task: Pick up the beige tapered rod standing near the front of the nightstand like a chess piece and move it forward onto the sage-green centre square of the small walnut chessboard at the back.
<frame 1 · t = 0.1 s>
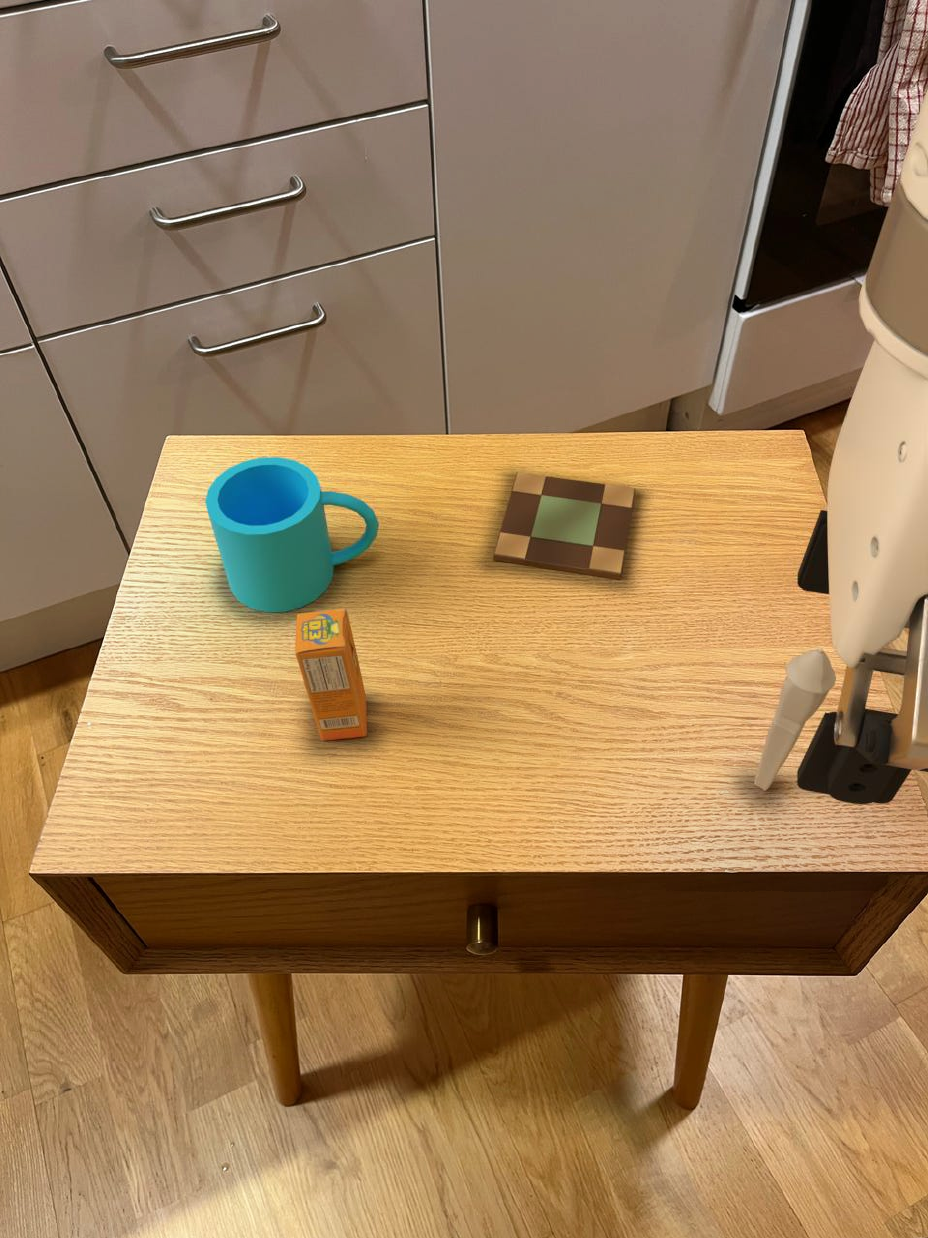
hand: (837, 681, 37), 24 cm above the table, tool pointing down, fingers open, 9 cm apart
mug: (306, 571, 75), on the table
board: (566, 525, 77), on the table
beige tapered rod: (761, 786, 62), on the table
supplement box: (342, 723, 66), on the table
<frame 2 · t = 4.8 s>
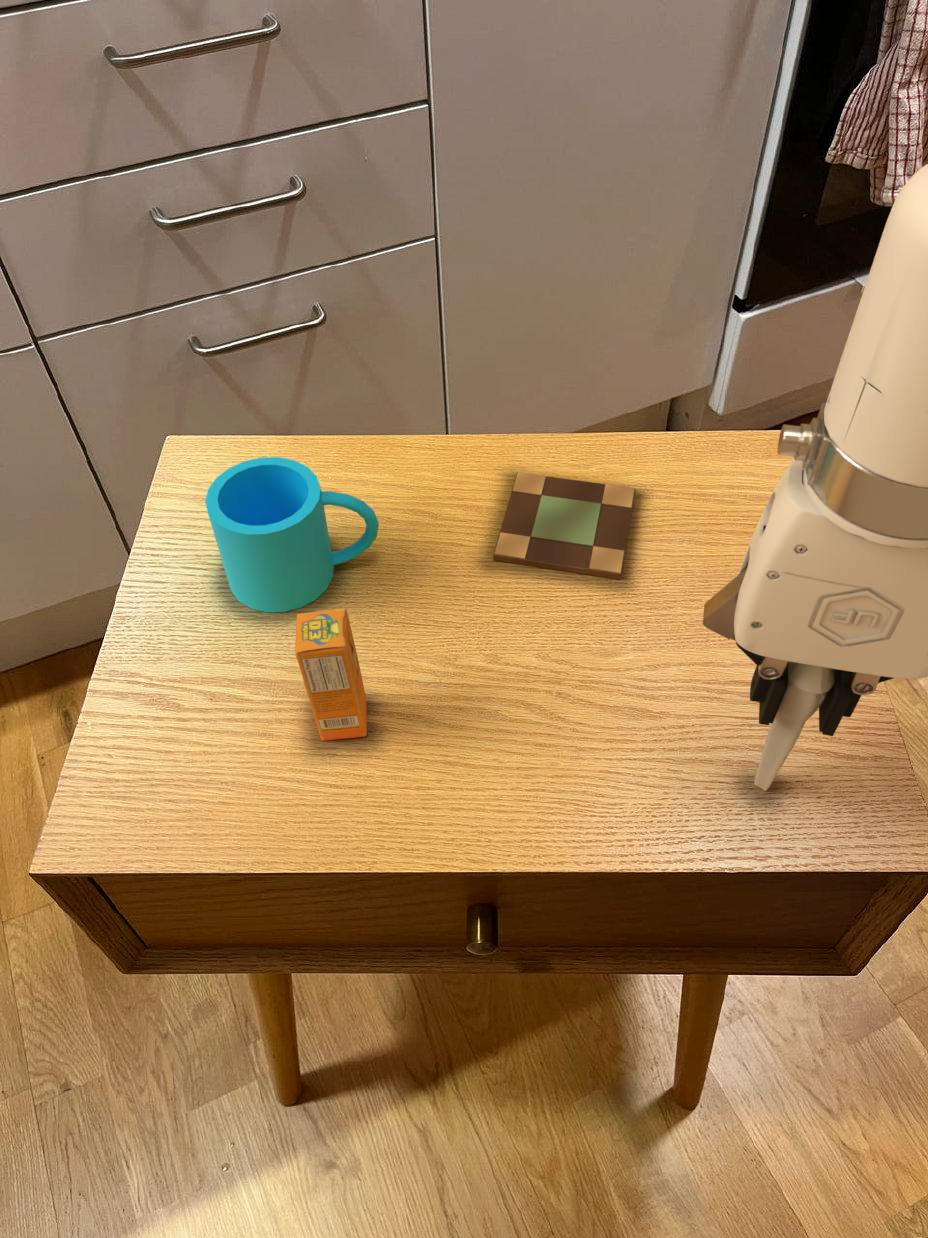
hand: (795, 708, 55), 9 cm above the table, tool pointing down, fingers closed on beige tapered rod, 2 cm apart
beige tapered rod: (761, 786, 62), on the table, touching gripper
everything else where it was.
when the fingers open (9 cm above the table, at t = 12.8 s): beige tapered rod stays where it is, resting on board.
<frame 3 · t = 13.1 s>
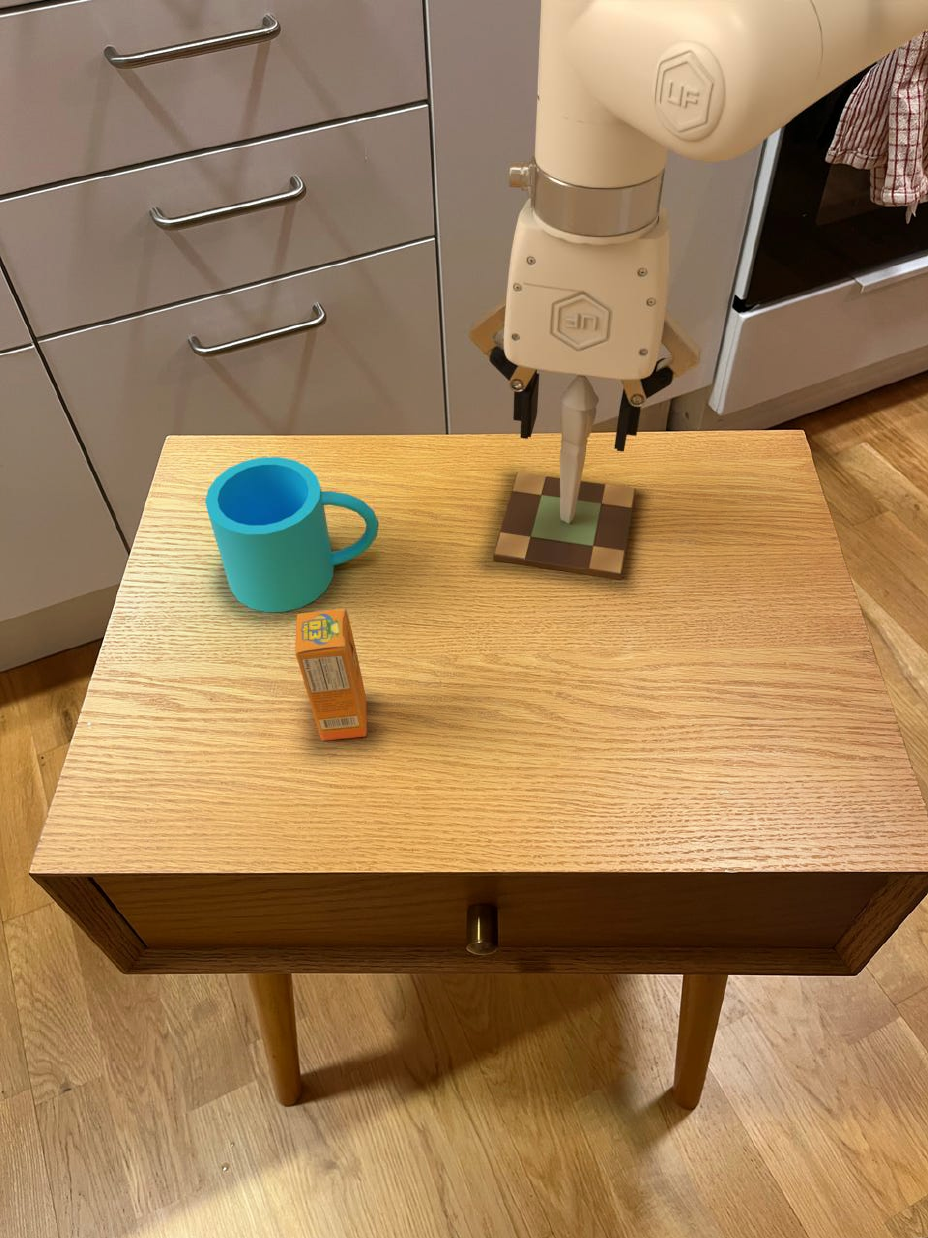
hand: (574, 431, 70), 10 cm above the table, tool pointing down, fingers open, 6 cm apart
beige tapered rod: (567, 522, 77), point 1 cm above the table, touching board
everything else where it was.
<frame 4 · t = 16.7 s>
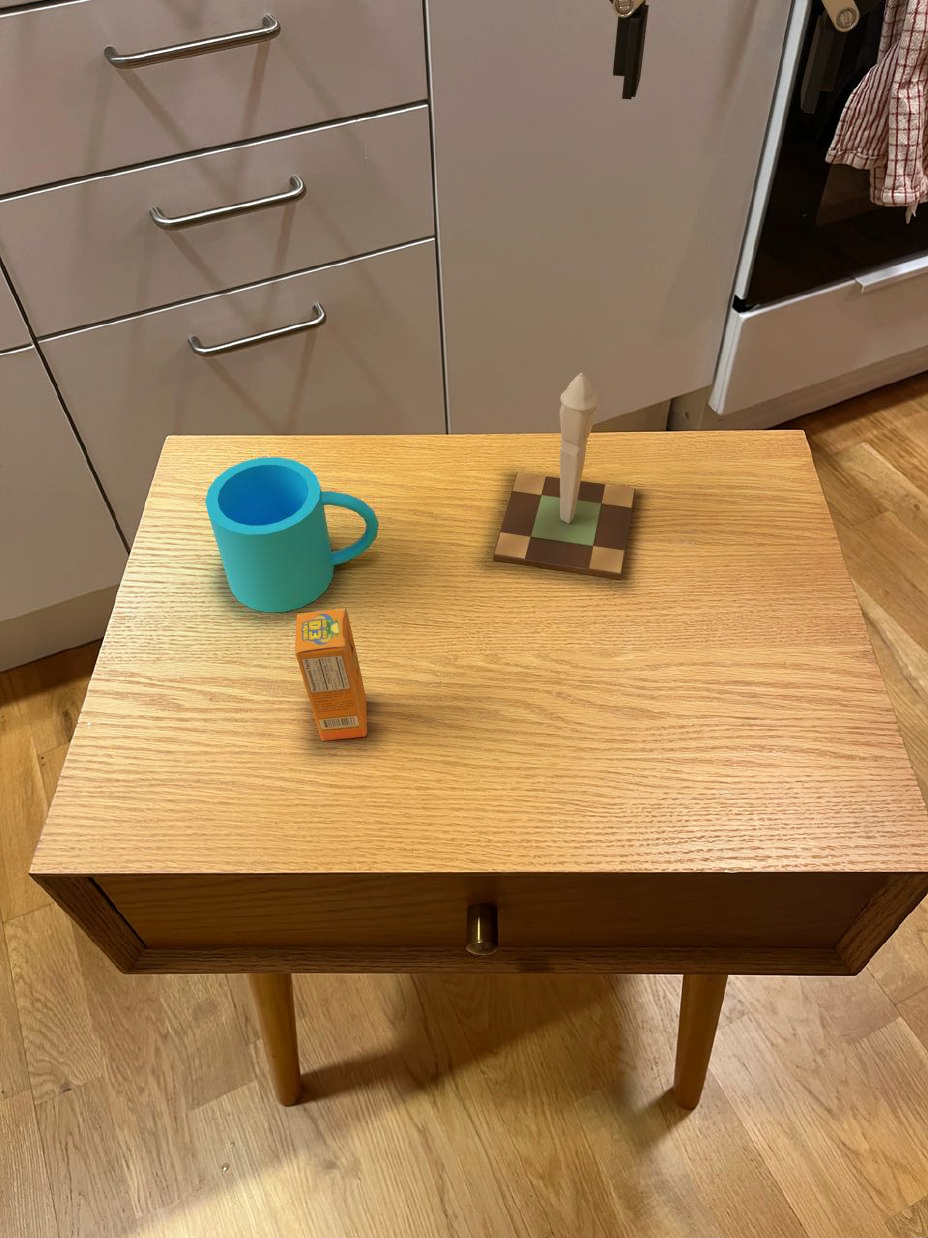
hand: (717, 96, 53), 32 cm above the table, tool pointing down, fingers open, 9 cm apart
nothing on the table moved.
at the end: beige tapered rod 0.1 cm off-centre on the board, point 0.5 cm above the board's base; beige tapered rod tilted 0°; the gripper is holding nothing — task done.
